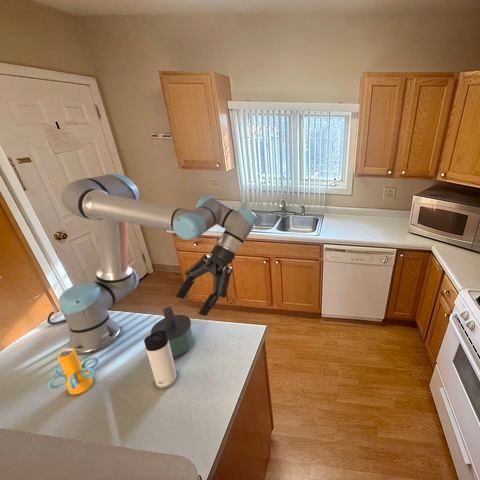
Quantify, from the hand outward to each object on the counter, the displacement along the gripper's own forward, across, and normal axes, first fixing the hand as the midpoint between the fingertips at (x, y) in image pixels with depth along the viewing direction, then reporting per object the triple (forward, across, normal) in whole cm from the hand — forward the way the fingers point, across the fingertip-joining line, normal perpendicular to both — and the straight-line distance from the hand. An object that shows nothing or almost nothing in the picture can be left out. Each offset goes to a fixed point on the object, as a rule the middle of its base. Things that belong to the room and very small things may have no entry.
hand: (190, 305), depth 81 cm
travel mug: (+27, +4, -13) cm, 30 cm away
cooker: (+20, +17, -19) cm, 32 cm away
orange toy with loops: (+40, +24, 0) cm, 46 cm away
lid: (+13, +17, -12) cm, 25 cm away
